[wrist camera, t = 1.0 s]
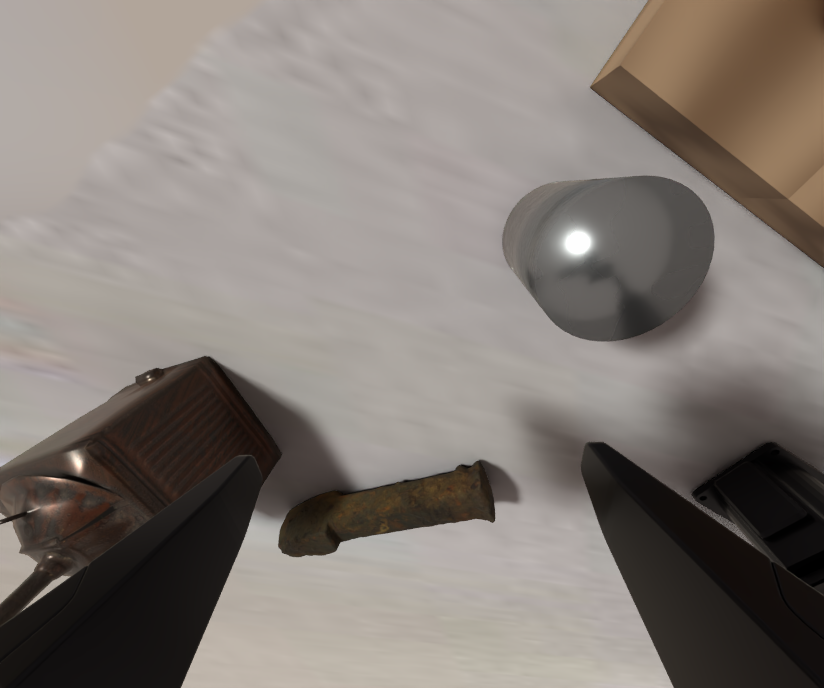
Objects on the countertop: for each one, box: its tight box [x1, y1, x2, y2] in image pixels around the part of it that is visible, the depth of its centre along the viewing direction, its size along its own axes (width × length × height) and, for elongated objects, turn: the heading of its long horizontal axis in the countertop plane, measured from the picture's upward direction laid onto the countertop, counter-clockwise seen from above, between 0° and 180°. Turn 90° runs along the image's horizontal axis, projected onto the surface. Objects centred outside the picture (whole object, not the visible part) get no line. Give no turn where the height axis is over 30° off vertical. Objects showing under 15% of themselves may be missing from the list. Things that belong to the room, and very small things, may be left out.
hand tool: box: [278, 461, 495, 557], centre depth 26 cm, size 19×4×5 cm, turn 109°
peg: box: [502, 176, 714, 341], centre depth 15 cm, size 6×6×8 cm
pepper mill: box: [0, 356, 282, 626], centre depth 20 cm, size 16×11×18 cm
